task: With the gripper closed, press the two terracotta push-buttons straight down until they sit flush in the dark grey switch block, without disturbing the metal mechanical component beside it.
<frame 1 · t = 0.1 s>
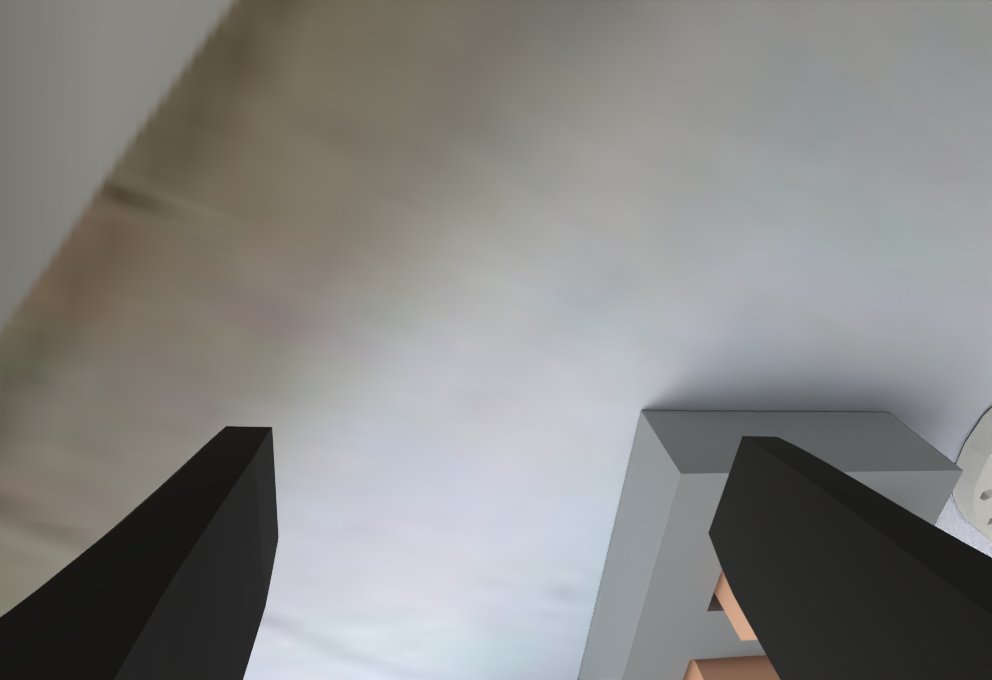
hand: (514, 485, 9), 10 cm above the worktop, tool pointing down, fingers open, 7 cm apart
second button: (790, 555, 21), point 3 cm above the worktop, slide at 0.0 cm
switch block: (717, 560, 26), on the worktop
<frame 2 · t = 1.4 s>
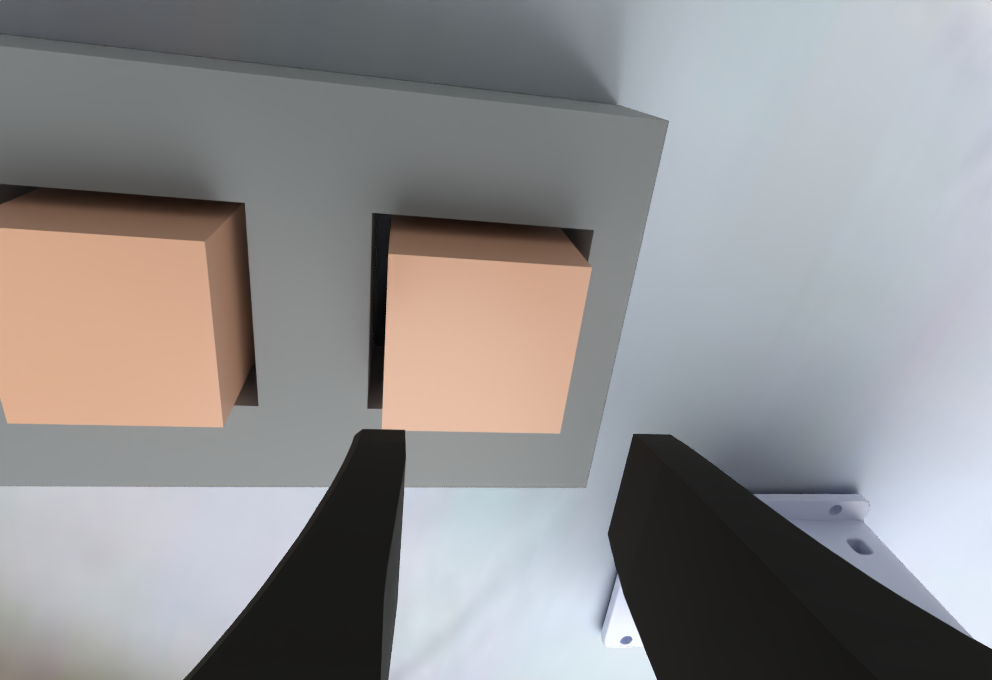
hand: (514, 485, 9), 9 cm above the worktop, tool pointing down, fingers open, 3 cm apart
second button: (134, 304, 13), point 3 cm above the worktop, slide at 0.0 cm
switch block: (329, 264, 17), on the worktop
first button: (475, 321, 15), point 3 cm above the worktop, slide at 0.0 cm
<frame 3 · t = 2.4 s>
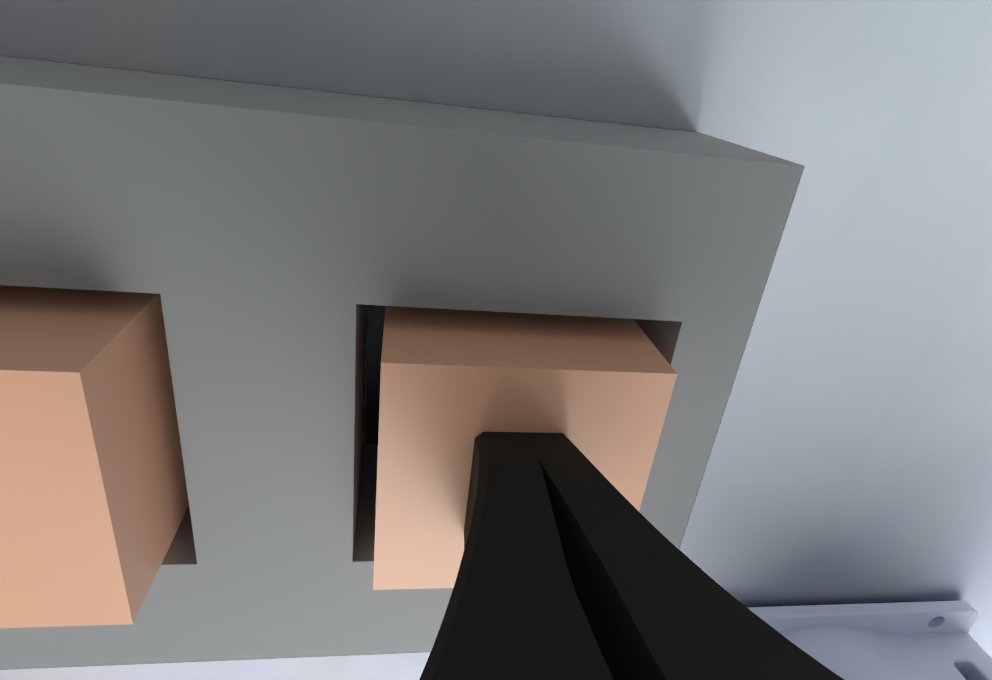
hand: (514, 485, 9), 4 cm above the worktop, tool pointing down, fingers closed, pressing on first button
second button: (2, 438, 9), point 3 cm above the worktop, slide at 0.0 cm
switch block: (303, 345, 13), on the worktop
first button: (501, 428, 11), point 3 cm above the worktop, slide at 0.5 cm, touching gripper
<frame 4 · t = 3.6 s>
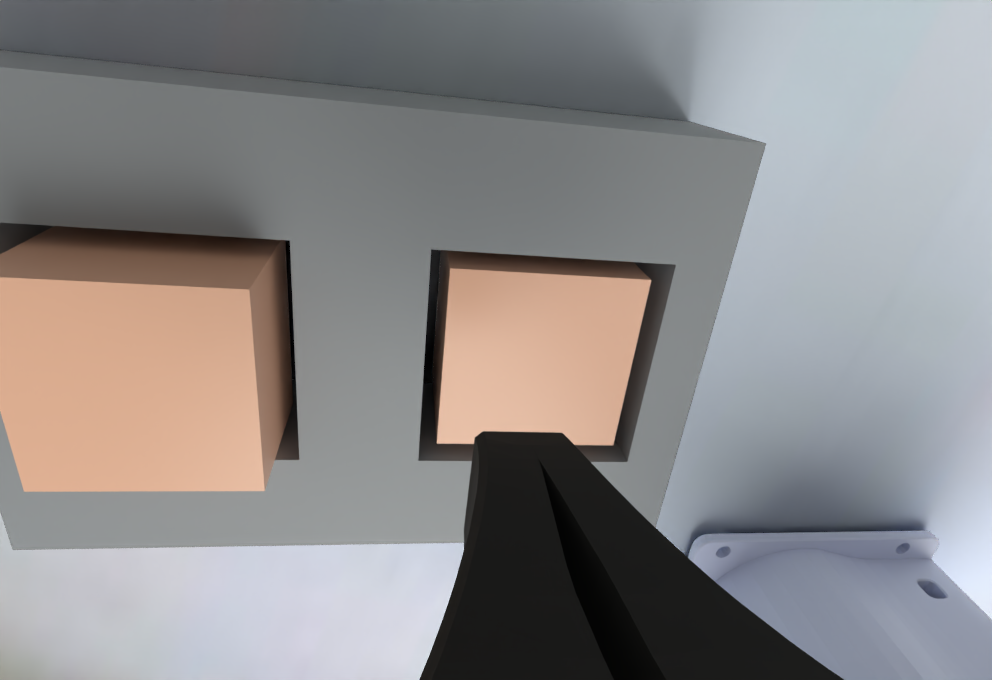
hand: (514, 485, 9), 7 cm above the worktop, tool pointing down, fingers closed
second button: (164, 353, 12), point 3 cm above the worktop, slide at 0.0 cm
switch block: (370, 297, 15), on the worktop
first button: (526, 333, 15), point 2 cm above the worktop, slide at 1.6 cm
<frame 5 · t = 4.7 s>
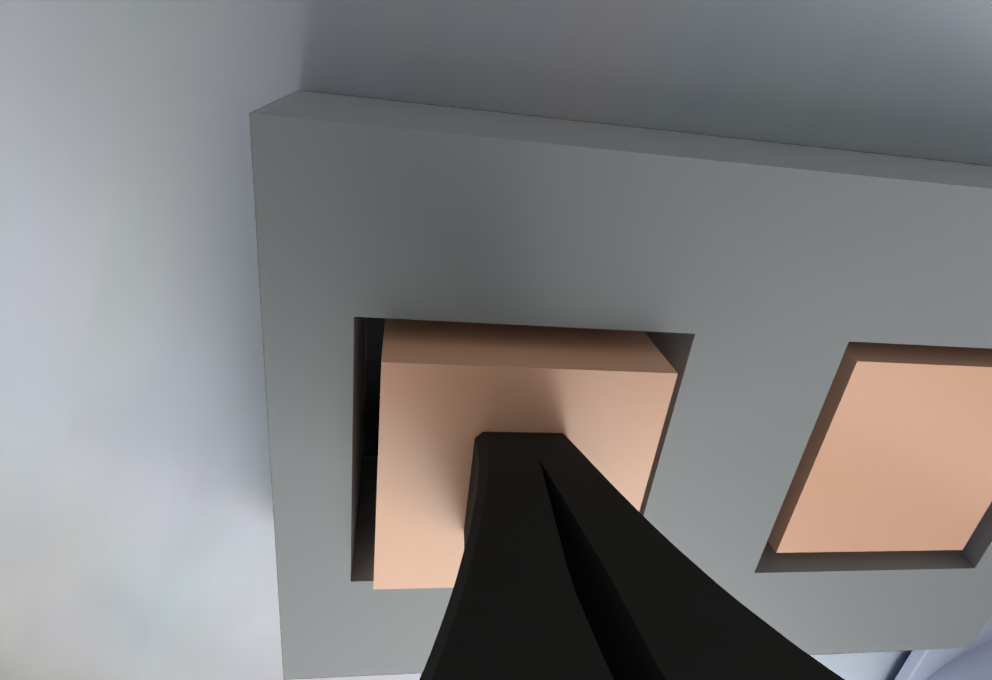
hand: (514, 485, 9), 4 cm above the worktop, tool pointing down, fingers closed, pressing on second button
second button: (501, 428, 11), point 2 cm above the worktop, slide at 1.0 cm, touching gripper
switch block: (654, 369, 13), on the worktop
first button: (858, 417, 12), point 2 cm above the worktop, slide at 1.6 cm
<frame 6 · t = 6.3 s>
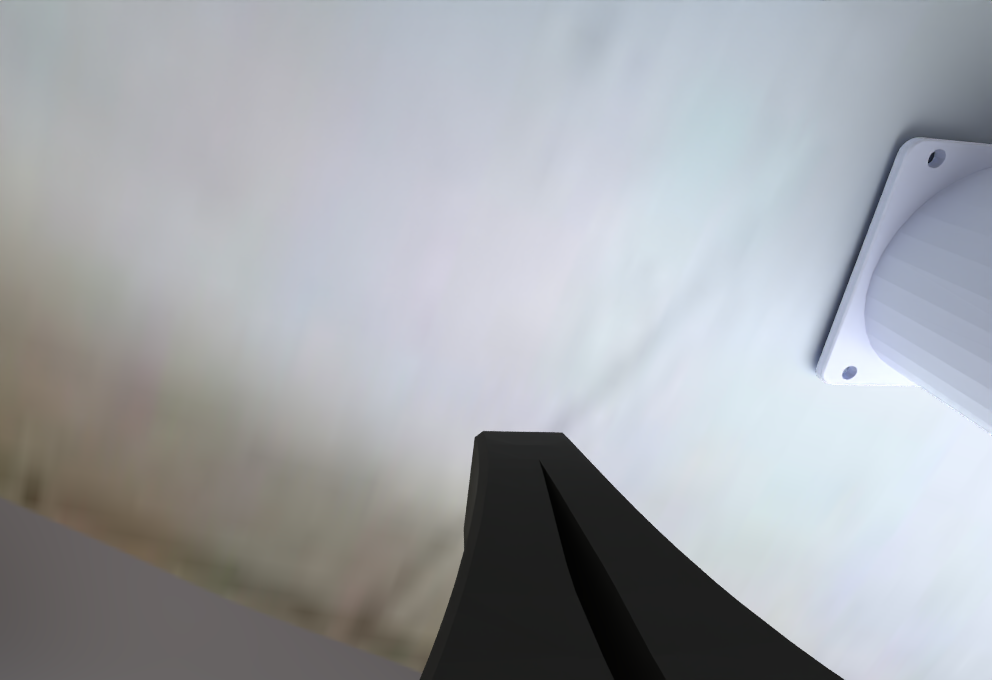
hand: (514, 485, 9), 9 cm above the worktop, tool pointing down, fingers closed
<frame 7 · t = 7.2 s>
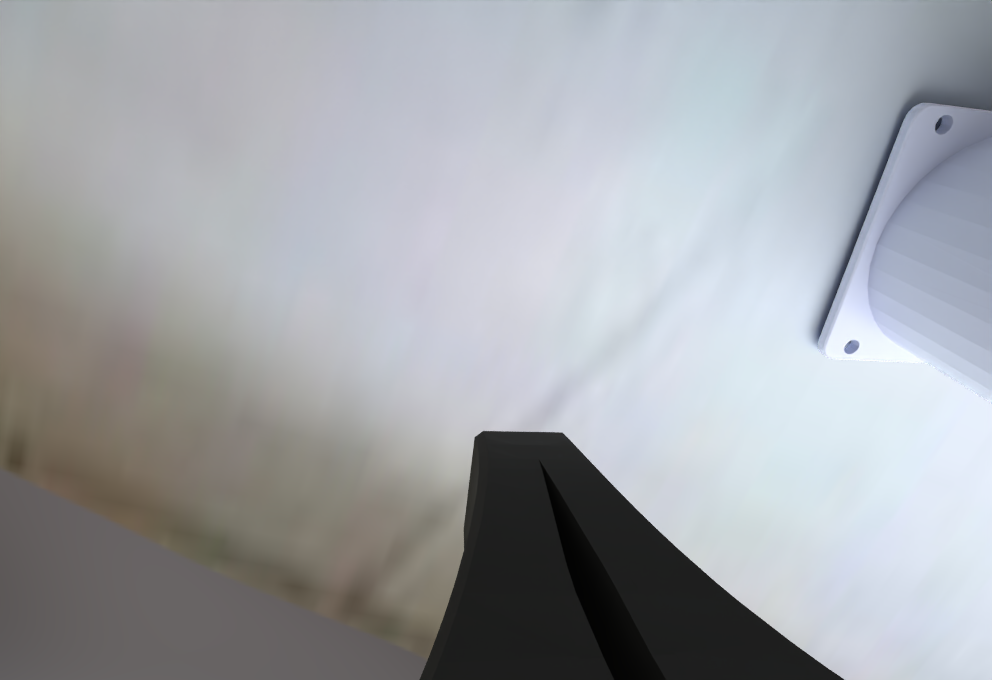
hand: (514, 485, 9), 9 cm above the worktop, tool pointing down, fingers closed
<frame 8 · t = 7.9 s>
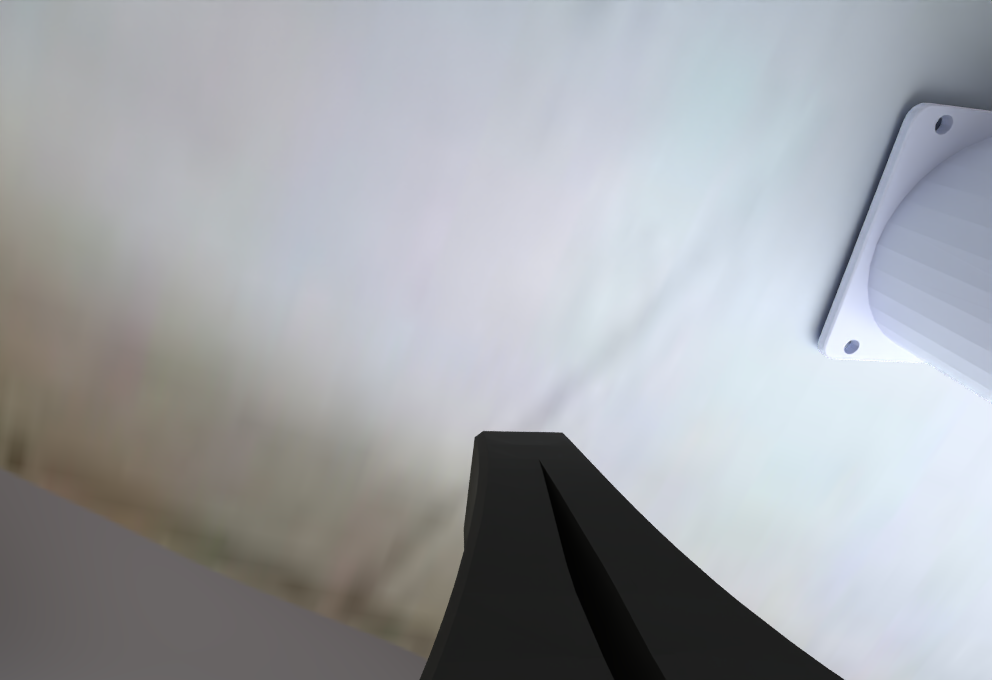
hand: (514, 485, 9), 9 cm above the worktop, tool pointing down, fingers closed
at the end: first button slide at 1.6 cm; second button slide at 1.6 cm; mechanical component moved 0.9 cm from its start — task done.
